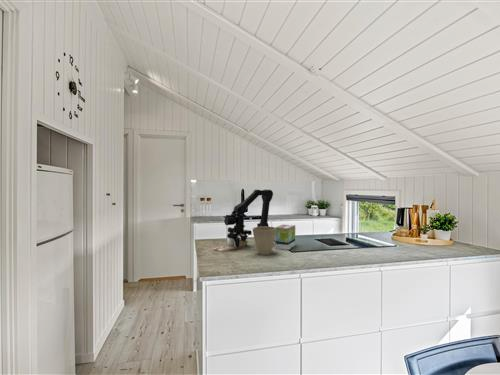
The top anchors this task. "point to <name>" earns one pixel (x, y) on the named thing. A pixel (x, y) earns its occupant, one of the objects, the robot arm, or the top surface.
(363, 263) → the top surface
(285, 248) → the tea box
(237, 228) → the robot arm
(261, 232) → the plant pot
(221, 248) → the board
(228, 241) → the jar
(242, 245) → the token
